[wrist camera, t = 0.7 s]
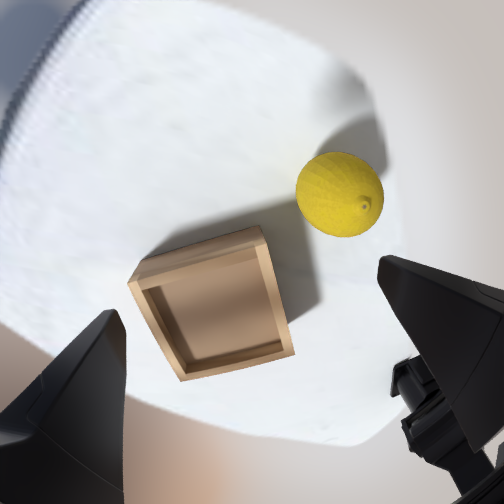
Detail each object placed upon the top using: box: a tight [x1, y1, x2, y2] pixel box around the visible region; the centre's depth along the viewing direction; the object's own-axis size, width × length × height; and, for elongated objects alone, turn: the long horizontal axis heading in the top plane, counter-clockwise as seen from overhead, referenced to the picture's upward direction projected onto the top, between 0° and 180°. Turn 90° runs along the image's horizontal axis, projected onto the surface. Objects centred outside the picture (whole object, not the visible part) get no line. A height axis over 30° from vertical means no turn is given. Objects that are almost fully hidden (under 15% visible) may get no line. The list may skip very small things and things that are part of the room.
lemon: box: [296, 152, 384, 237], centre depth 19 cm, size 6×6×8 cm
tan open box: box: [127, 225, 295, 382], centre depth 23 cm, size 10×10×4 cm
